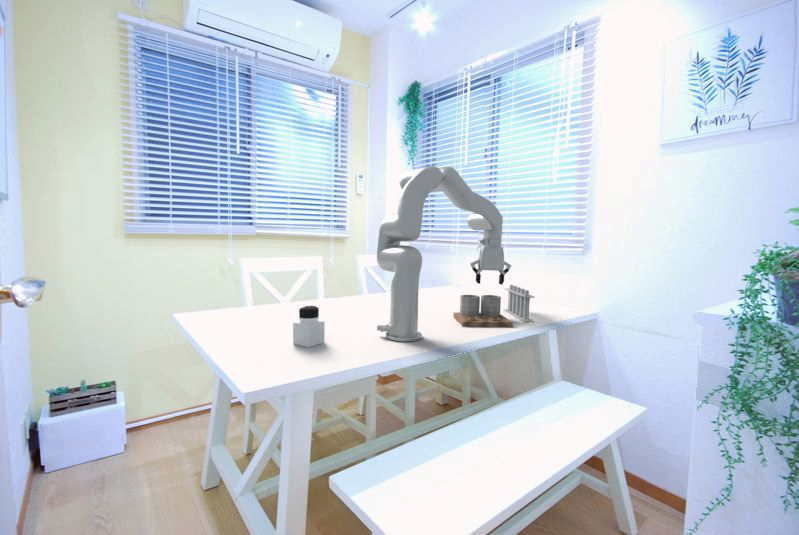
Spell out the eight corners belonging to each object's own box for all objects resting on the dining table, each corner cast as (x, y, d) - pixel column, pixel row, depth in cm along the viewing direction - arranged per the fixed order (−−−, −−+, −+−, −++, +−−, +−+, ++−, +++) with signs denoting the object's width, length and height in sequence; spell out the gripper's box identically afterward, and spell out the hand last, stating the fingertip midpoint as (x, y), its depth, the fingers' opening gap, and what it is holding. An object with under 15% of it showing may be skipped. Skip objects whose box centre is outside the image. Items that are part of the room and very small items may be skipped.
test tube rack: (503, 311, 181) (504, 283, 180) (511, 311, 182) (513, 283, 180) (523, 322, 156) (525, 291, 155) (534, 322, 157) (535, 291, 156)
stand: (462, 326, 147) (463, 301, 146) (453, 316, 165) (454, 294, 164) (512, 327, 148) (513, 302, 147) (498, 317, 166) (499, 294, 165)
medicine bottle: (324, 342, 122) (325, 306, 121) (309, 348, 116) (309, 309, 115) (308, 339, 125) (308, 303, 124) (292, 344, 119) (292, 306, 118)
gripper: (474, 242, 154) (471, 283, 155) (515, 244, 155) (512, 285, 156) (469, 242, 162) (467, 282, 163) (509, 244, 163) (506, 283, 164)
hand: (489, 283), depth 160 cm, fingers open, 9 cm apart
